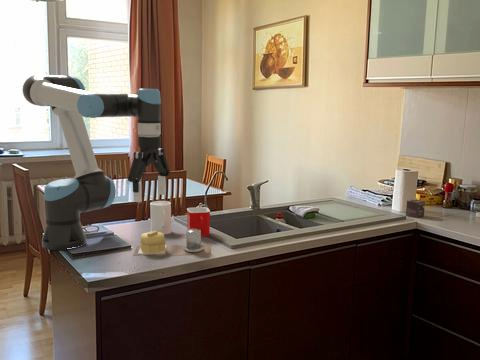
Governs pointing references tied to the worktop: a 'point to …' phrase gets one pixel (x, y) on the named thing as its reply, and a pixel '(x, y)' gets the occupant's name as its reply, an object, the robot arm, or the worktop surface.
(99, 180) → the robot arm
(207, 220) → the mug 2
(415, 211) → the box
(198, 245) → the clear drinking glass
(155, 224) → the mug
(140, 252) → the pad
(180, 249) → the board
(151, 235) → the yellow block
